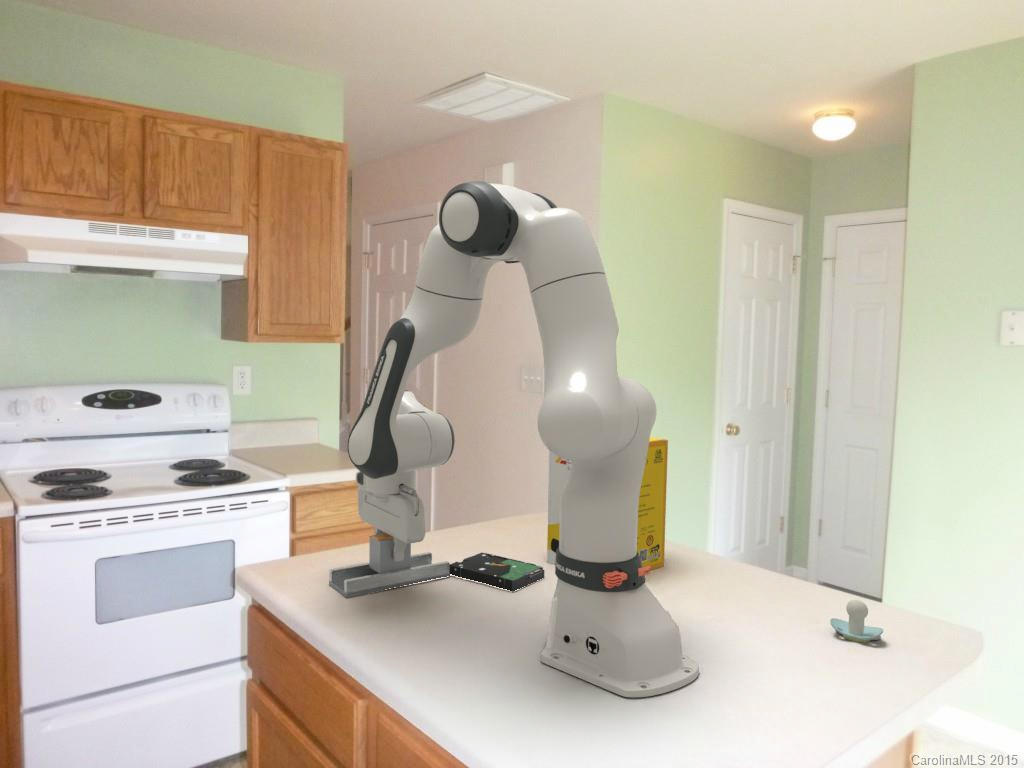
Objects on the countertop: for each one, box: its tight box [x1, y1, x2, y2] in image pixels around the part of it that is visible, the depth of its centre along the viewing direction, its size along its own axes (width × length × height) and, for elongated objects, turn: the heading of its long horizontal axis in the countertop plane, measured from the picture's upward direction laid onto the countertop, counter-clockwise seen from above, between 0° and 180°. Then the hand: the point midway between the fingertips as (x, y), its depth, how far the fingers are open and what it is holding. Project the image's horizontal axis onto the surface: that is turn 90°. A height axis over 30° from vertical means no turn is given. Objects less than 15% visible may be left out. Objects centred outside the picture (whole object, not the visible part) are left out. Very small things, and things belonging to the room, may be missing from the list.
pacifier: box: [829, 599, 884, 643], centre depth 115 cm, size 7×6×6 cm
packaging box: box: [546, 436, 669, 573], centre depth 148 cm, size 16×16×25 cm
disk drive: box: [449, 552, 545, 591], centre depth 140 cm, size 10×3×15 cm
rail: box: [328, 551, 451, 599], centre depth 136 cm, size 8×20×3 cm, turn 125°
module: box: [368, 533, 412, 573], centre depth 136 cm, size 4×6×6 cm
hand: (390, 555), depth 136 cm, fingers closed on module, 4 cm apart
